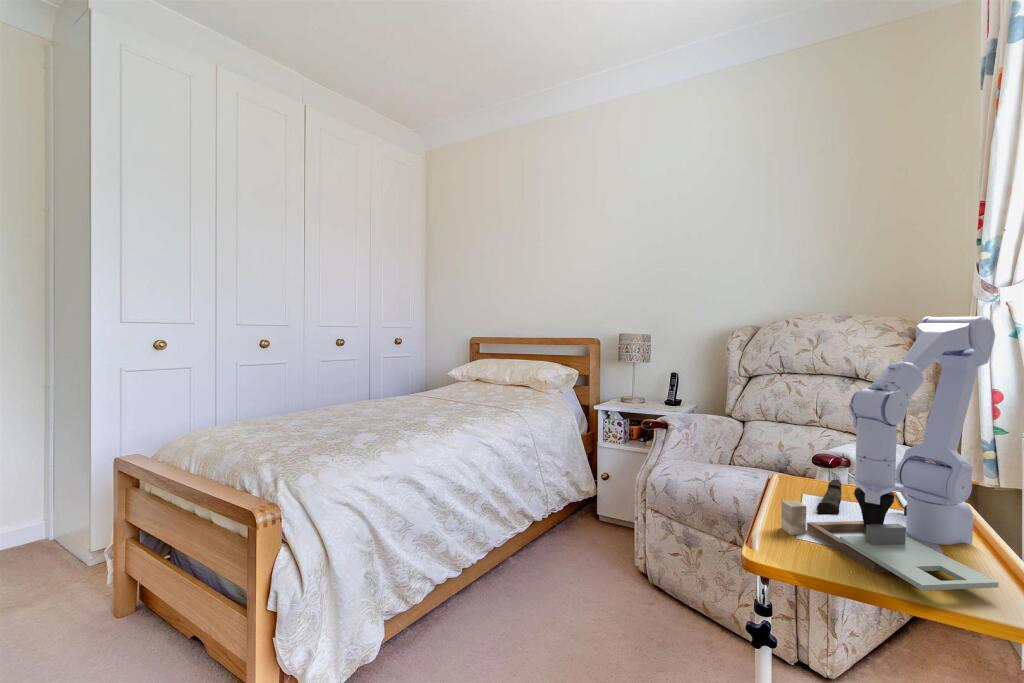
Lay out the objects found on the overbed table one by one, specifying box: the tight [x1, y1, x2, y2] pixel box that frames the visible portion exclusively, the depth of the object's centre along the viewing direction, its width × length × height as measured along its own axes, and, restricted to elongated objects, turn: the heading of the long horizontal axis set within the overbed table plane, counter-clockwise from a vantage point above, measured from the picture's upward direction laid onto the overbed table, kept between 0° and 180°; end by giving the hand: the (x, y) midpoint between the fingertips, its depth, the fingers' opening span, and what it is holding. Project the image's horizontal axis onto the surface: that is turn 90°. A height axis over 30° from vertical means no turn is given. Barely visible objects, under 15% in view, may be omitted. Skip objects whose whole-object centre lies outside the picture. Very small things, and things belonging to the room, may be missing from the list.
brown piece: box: [806, 520, 892, 573], centre depth 87 cm, size 12×16×3 cm
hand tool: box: [816, 479, 842, 516], centre depth 110 cm, size 19×4×5 cm, turn 138°
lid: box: [839, 523, 999, 591], centre depth 78 cm, size 12×16×4 cm
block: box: [780, 499, 807, 536], centre depth 94 cm, size 3×3×7 cm
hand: (872, 531), depth 86 cm, fingers closed
